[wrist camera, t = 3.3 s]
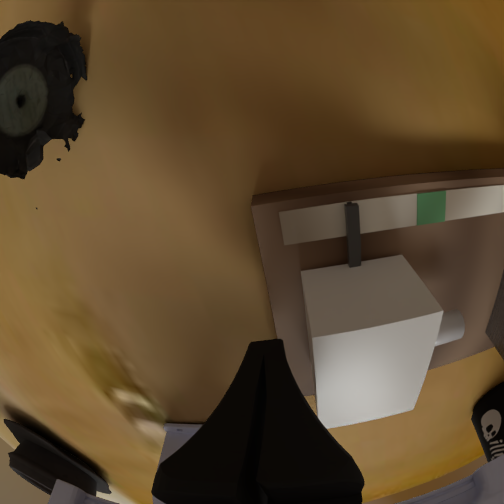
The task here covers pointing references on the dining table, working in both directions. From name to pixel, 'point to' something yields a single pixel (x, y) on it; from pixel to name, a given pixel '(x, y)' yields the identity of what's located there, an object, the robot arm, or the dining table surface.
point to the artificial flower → (37, 92)
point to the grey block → (497, 321)
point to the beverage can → (491, 422)
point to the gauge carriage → (371, 333)
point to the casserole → (50, 463)
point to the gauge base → (388, 248)
